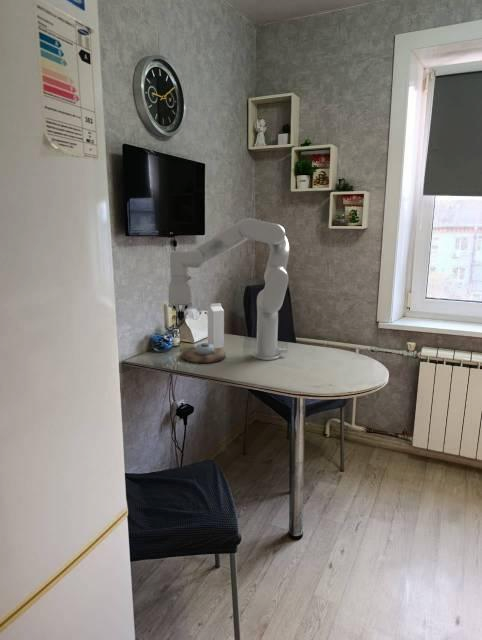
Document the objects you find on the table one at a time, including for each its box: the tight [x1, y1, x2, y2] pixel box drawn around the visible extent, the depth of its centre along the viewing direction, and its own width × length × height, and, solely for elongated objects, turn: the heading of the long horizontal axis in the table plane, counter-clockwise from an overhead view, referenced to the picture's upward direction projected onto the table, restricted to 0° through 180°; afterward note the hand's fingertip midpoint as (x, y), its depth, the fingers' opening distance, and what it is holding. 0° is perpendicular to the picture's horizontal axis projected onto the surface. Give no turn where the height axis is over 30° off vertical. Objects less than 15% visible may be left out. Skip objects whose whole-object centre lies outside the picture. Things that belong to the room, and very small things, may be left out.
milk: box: [207, 302, 225, 349], centre depth 214 cm, size 6×6×22 cm
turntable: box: [181, 346, 227, 364], centre depth 199 cm, size 20×20×2 cm
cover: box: [195, 342, 214, 355], centre depth 198 cm, size 8×8×4 cm
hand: (180, 319), depth 194 cm, fingers closed
